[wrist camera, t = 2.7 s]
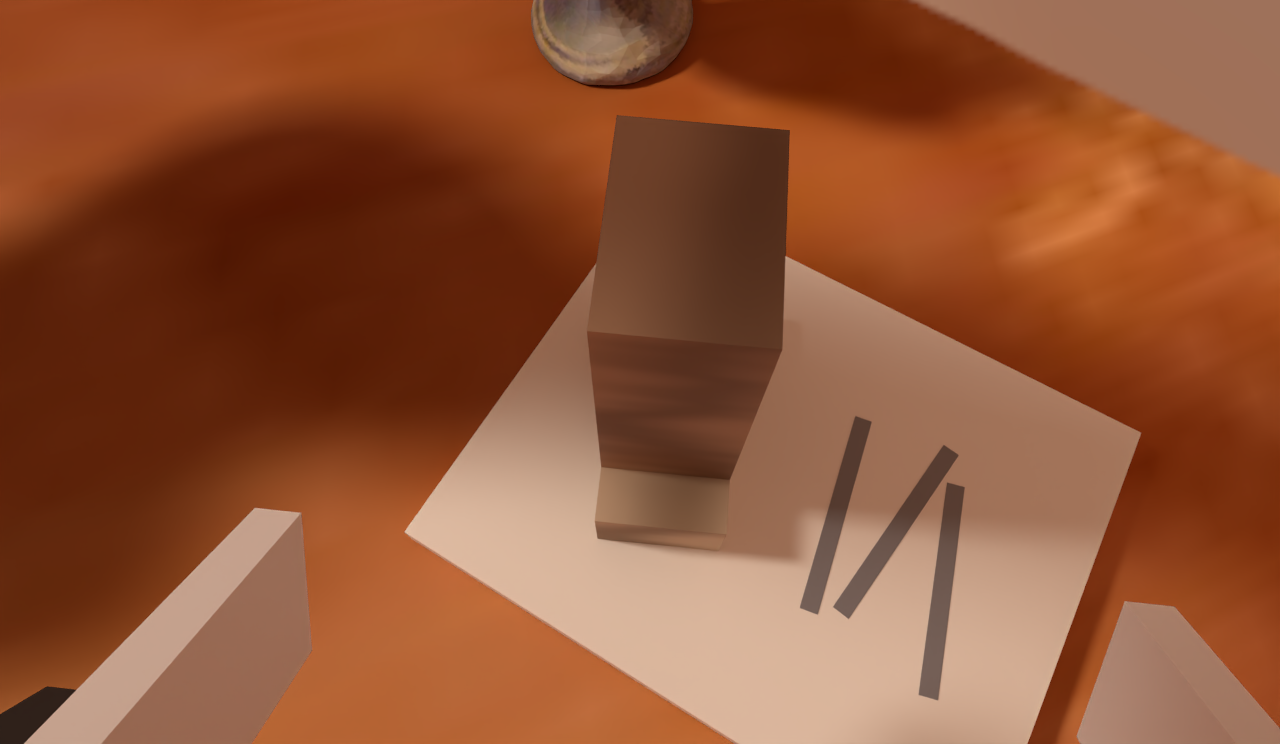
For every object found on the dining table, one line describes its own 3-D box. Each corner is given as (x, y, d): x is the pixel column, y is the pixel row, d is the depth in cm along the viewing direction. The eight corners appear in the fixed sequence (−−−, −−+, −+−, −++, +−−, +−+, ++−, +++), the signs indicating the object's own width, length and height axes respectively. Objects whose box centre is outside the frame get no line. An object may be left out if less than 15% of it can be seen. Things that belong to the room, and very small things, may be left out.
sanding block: (597, 538, 27) (575, 408, 16) (626, 299, 31) (624, 59, 20) (718, 551, 27) (779, 428, 16) (733, 309, 31) (791, 73, 20)
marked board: (413, 539, 28) (404, 532, 27) (649, 206, 34) (649, 188, 33) (957, 885, 24) (973, 892, 23) (1122, 443, 30) (1141, 432, 29)
